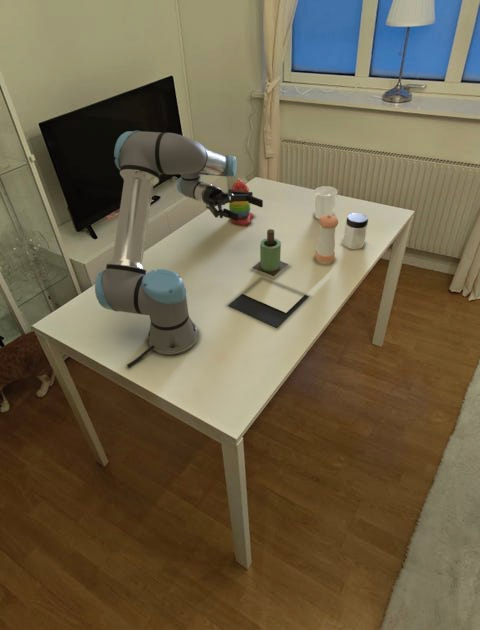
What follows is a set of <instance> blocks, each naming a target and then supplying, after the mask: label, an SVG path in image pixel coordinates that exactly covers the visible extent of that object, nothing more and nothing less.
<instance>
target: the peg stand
mask: <svg viewBox="0 0 480 630" xmlns="http://www.w3.org/2000/svg"><path fill="white" fill-rule="evenodd" d="M274 238H275V230H274V229H273V228H272V229H271V228H269V229H267V230H266V239H267V246H268V247H273V246H274ZM288 265H289V263H286V262H283V261H282V260H280V268H279V269H278V270H276V271H272V272H271V271H265V270H263V269H262V268H261V267H260V261H259V262H258V263H256V264H255V265H254V266H252V269H253V270H256V271H258V272H261V273H262V274H263V273H264V274H266V275H269V276H270V277H275V276H277V275H278V274H279V273H280V272H281V271H283V270H284V269H285V268H286V267H287V266H288Z"/></svg>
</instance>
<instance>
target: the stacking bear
mask: <svg viewBox="0 0 480 630" xmlns="http://www.w3.org/2000/svg"><path fill="white" fill-rule="evenodd" d="M231 190H234V191H245V192H250V188H249V186H248V185H247V184H246V183H245V182H244V181H241V179H238V180H237V181H236V182H234V183H233V184H232V185H231ZM230 200H231V197H230ZM228 204H229V205H228V210H230V211H233V212H235V213H238V221H235V220H232V219H230V218H229V219H230V222H231V223H232V224H235V225H237V226H242V227H243V226H244V227H246V226H250V225H251V224H252V221H251V219H253V218H254V213H253V212H251V203H248V201H238V202H233V203H228Z"/></svg>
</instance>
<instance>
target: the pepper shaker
mask: <svg viewBox="0 0 480 630" xmlns="http://www.w3.org/2000/svg"><path fill="white" fill-rule="evenodd" d="M318 224H319V226H320V228H319V236H318V239H317V243H316V244H317V245H316V250H315V256H314V257H315V260H316V261H318V262H320V263H331V262H333V261H334V260H335V255H336V252H335V249H336V248H335V247H336V237H335V236H336V229H337V228H336V227H338V224H339V219H338V218H337V217H336V216H335V215H334V214H333V215H324V216H322V217H321V218H320V219H318Z"/></svg>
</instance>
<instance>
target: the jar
mask: <svg viewBox="0 0 480 630" xmlns="http://www.w3.org/2000/svg"><path fill="white" fill-rule="evenodd" d="M368 223H369V217H368V215H366V214H364V213H361V212H352V213H349V214H348V215H347V216H346V221H345V226H344V231H343V233H344V234H343V239H342V240H343V241H342V245H343V246H344V247H346V248H347V249H349V250H358V249H360V250H361V249H362V248H363V247H364V244H365V241H366V236H367V230H368Z"/></svg>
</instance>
